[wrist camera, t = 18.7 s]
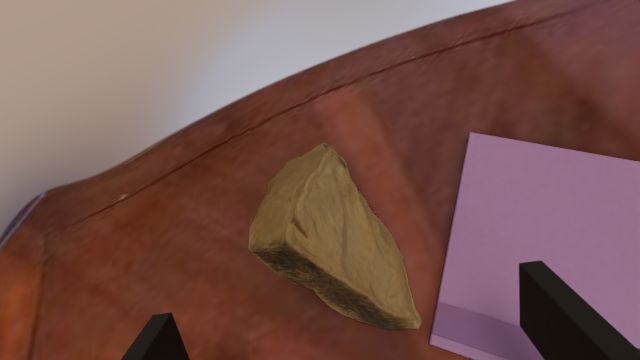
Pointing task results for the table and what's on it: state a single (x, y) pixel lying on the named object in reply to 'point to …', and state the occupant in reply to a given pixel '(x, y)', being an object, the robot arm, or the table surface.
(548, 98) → the table surface
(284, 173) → the rock
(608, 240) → the lavender flat block
